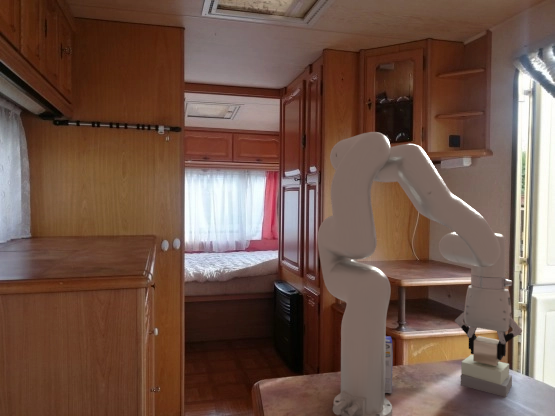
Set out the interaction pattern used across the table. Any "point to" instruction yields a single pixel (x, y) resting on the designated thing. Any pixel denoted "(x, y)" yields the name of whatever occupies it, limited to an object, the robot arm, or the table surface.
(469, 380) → the tower base block
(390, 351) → the ink cartridge box
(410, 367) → the table surface
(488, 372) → the tower top block
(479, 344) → the birch cube
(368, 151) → the robot arm
